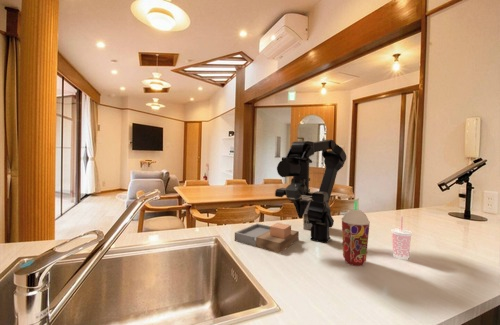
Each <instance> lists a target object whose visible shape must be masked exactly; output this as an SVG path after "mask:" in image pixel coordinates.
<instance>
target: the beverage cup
mask: <svg viewBox="0 0 500 325" xmlns="http://www.w3.org/2000/svg"><path fill="white" fill-rule="evenodd" d="M403 222H404V216H403V215H401V216H400V228H398V227H397V228H396V227H395V228H391V230H390V231H391V234H392V235H391V238H392V241H391V242H392V256H393V258H395V257H396V258H395V259H399V260H402V259H407V260H409V259H408V258H410V252H411V251H410V250H411V241H412V236H413V232H412V231H411V230H409V229H405V228H404V227H403V225H404V223H403Z"/></svg>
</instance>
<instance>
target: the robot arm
mask: <svg viewBox="0 0 500 325" xmlns="http://www.w3.org/2000/svg"><path fill="white" fill-rule="evenodd" d="M317 152H322V153H321V155H322V158H323V159H324V160H323V163H324V166H325V169H324V173H323V176H322V180H321V183H320V186H319V189H318V190H317V191H315V192H314V191H313V193H309V192H311V189H310V182H311V178H310V164H312V163H313V161H312V159H311V158H310V157H312V156H314V154H315V153H317ZM346 160H347V154H346V152H345V150H344V149H343V147H341V146H340V145H338V144H337V143H336V141H335V140H334V139H323V140H318V141H317V140H316V141H311V140H301V141H300V140H299V141H298V140H297V141H293V142H292V143H291V145H290V147H289V149H288V151H287V153H286V155H285V156H283V157H282V156H281V160H279V163H278V164H277V166H276V171H277V175H278V176H280V177H281V178H289V177H292V178H291V180H290V184H288V186H287V187H279V188H276V189H275V192H274V197H277V198H283V197H284V196H285V197H286V198H287V199H288V200H289V201H290V202H292V204H293V205H294V208H295V211H296V213H297V216H298V218H299V219H302V218H303V214H304V212H305V209H306V207H307V205H308V203H309V202H310V201H311V202H310V205H309V208H308V211H307V216H308V221H309V223H311V224H312V227H311V229H310V241H316V242H320V243H324V244H326V243H328V242H329V241H330V240H331V237H330V228H333V226H334V221H335V219H334V218H333V217H332V214H331V212H332V211H331V210H332V209H331V208H330V204H329V202H330V198H331V196H332V193H333V190H334V185H335V183H336V178H337V176H338V175H337V174H338V172H339V171H340V170H341V169H342V168H343V167H344V165H345V162H346ZM312 200H313V201H312Z"/></svg>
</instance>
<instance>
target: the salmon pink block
mask: <svg viewBox="0 0 500 325" xmlns="http://www.w3.org/2000/svg"><path fill="white" fill-rule="evenodd" d="M269 226H270V235H271V236H275V237H280V238H286V237H287V236H289V235H291V230H292V224H286V223H280V222H276V223H274V224H272V225H269Z"/></svg>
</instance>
